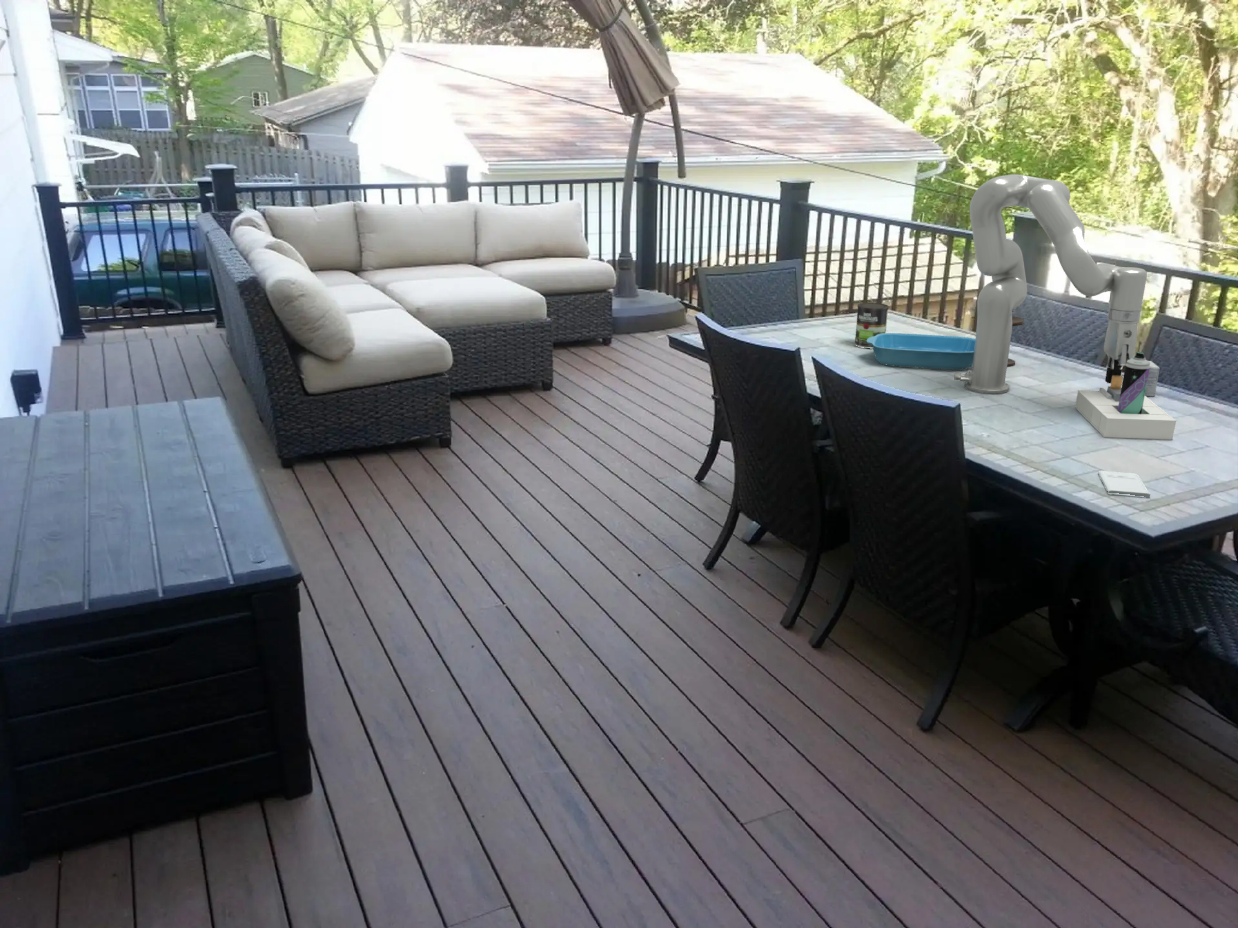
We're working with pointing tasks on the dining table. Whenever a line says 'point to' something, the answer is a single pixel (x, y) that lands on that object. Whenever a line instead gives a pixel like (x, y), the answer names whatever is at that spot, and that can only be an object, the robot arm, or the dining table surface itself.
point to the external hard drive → (1123, 483)
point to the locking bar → (1115, 387)
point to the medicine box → (1152, 380)
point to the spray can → (1134, 385)
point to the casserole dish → (923, 350)
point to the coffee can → (870, 322)
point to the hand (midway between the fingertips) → (1112, 382)
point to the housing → (1124, 417)
